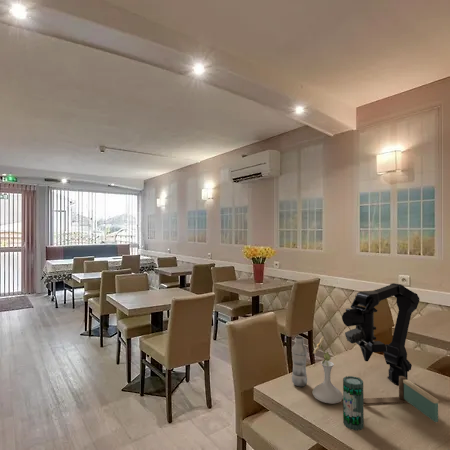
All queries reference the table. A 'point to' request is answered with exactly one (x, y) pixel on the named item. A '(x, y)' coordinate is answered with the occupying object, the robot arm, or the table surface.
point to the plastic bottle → (299, 362)
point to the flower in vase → (326, 381)
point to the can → (353, 403)
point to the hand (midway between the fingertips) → (366, 361)
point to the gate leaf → (421, 400)
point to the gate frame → (388, 399)
